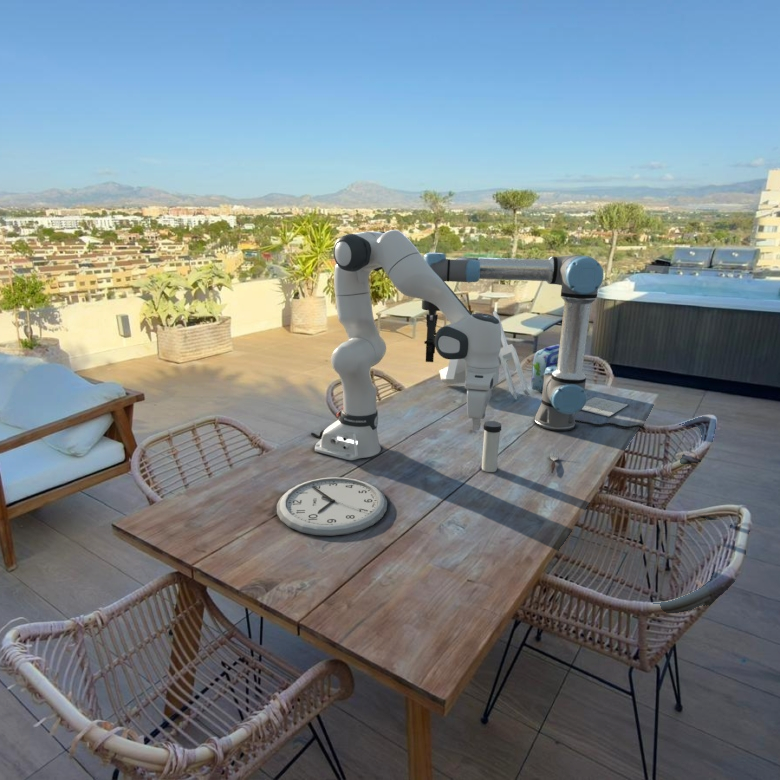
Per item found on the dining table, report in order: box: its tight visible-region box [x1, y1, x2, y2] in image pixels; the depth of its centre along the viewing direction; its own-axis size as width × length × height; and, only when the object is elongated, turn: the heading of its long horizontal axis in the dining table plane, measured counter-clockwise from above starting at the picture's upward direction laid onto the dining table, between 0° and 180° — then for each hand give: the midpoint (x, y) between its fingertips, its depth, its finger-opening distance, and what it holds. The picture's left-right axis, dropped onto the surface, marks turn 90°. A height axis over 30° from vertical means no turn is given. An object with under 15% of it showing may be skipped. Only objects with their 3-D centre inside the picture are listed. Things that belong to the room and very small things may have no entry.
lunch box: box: [530, 344, 560, 393], centre depth 247 cm, size 26×11×21 cm, turn 134°
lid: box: [483, 420, 502, 433], centre depth 162 cm, size 5×5×2 cm
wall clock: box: [276, 476, 388, 537], centre depth 142 cm, size 30×2×30 cm
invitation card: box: [580, 396, 629, 418], centre depth 226 cm, size 21×1×15 cm
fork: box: [549, 449, 560, 474], centre depth 170 cm, size 3×16×2 cm, turn 160°
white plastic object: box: [438, 310, 531, 400], centre depth 245 cm, size 37×45×31 cm
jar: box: [481, 429, 501, 473], centre depth 164 cm, size 5×5×15 cm
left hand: (479, 423), depth 144 cm, fingers open, 8 cm apart
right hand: (430, 357), depth 190 cm, fingers open, 13 cm apart
